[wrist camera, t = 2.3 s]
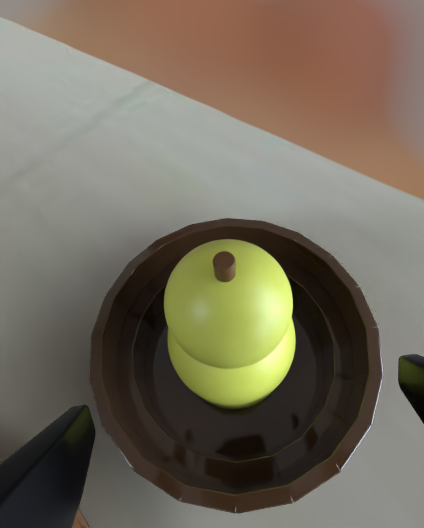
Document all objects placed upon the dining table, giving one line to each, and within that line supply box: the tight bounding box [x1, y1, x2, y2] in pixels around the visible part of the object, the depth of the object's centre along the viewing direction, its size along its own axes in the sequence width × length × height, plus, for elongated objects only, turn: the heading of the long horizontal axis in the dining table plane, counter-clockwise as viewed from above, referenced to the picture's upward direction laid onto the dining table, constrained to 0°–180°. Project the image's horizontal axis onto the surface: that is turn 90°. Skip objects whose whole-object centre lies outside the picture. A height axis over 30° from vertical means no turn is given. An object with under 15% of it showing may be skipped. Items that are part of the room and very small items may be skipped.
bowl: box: [90, 218, 383, 513], centre depth 18 cm, size 14×14×5 cm
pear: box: [164, 239, 296, 410], centre depth 14 cm, size 7×7×12 cm
